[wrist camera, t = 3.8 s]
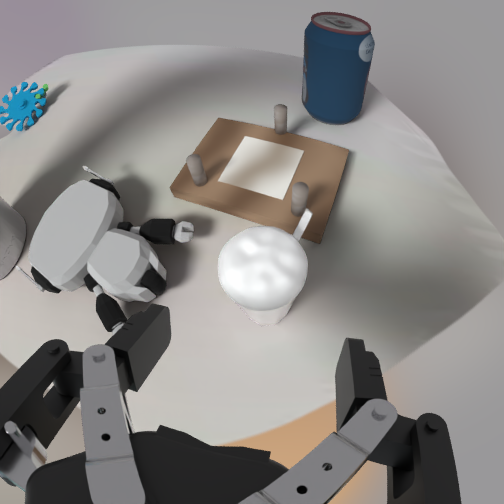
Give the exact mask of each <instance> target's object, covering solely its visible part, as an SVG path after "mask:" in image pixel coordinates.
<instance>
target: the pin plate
mask: <svg viewBox="0 0 504 504" xmlns="http://www.w3.org/2000/svg"><path fill="white" fill-rule="evenodd" d="M274 118H275V129H271V128H267V127H262V126H258V125H253V124H248V123H243V122H238V121H233V120H228V119H222V118H218V119H217V120H216V122H215V123H214V124H213V126H212V127H211V128H210V130H209V131H208V133H207V134H206V135H205V137H204V138H203V139H202V141H201V142H200V144H199V145H198V146H197V148H196V149H195V151H194V152H193V154H192V155H190V156H188V157H187V159H186V164H185V165H184V167H183V168H182V170H181V171H180V173H179V174H178V176H177V177H176V179H175V180H174V182H173V183H172V185H171V186H170V189H171V191H172V193H173V195H174V197H176V198H180V199H183V200H186V201H189V202H193V203H196V204H199V205H202V206H206V207H209V208H212V209H215V210H218V211H221V212H225V213H228V214H231V215H234V216H237V217H240V218H243V219H247V220H250V221H253V222H256V223H259V224H262V225H265V226H272V227H276V228H279V229H282V230H284V231H285V232H287V233H289V234H292V235H293V233H294V231H295V229H296V227H297V225H298V223H299V221H300V219H301V217H302V215H303V213H304V211H305V209H306V208H307V209H309V210H310V211H311V212H312V213H313V215H312V217H311V219H310V221H309V223H308V225H307V227H306V229H305V231H304V232H303V234H302V236H301V238H304V239H307V240H310V241H313V242H316V243H319V244H320V242H321V239H322V236H323V233H324V230H325V227H326V224H327V221H328V218H329V215H330V212H331V209H332V206H333V203H334V200H335V196H336V193H337V190H338V187H339V183H340V180H341V177H342V174H343V170H344V167H345V163H346V160H347V156H348V152H349V150H348V149H345V148H341V147H338V146H335V145H332V144H328V143H325V142H321V141H318V140H314V139H311V138H307V137H303V136H299V135H296V134H292V133H288V132H287V106H285V105H283V104H278V105H276V106H275V107H274Z"/></svg>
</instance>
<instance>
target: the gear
mask: <svg viewBox="0 0 504 504" xmlns="http://www.w3.org/2000/svg"><path fill="white" fill-rule="evenodd" d="M27 87H28V83H27V82H23V83H22V84H21V90H20V92H19V93H18V94H16V95H15V93H16V92H17V87H16V86H15V87H12V88H11V92H12V94H13V97H12V100H11V101H8V100H9V98H8V95H5V96H4V97H3V98H2V101H3V102H4V103H7V104H8V105H9V107H8V109H4V107H3V106H0V114H2V113H8V114H9V116H8V117H4V116H2V117H1V118H0V123H1V124H4V123H5V122H6V121H8V120H10V119H13V122H11V123H8V124H7V125H6V127H7V129H8V130H9V131H11V130H12V128H13V126H14V124H15V123H16V122H18V121H19V120H20V121H21V122H20V124H18V125H17V126H16V130H17V131H22V130H23V123H24V121H25V119H26V118H27V117H29V120H28V122H27V124H28V126H32V125H34V121H33V119H32V112H33V111H36V116H37V117H38V118H39V117H40V116H41V115H42V114H43V112H42V110H41V109H38V108H36V106H35V105H36V104H37V103H40V105H41V106H44V105H45V104H46V99H45V98H46V91H47V90H48V85H47V84H44V85H43V88H41V89H39V90H38V91H37V92H34V93H30V92H31V91H32V90H36V89H37V88H38V85H37V84H36V83H35V82H34V83H33V84H32V85H31V87H30V88H29V89H28V90H27V91H25V92H23V90H24V89H26V88H27Z"/></svg>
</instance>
